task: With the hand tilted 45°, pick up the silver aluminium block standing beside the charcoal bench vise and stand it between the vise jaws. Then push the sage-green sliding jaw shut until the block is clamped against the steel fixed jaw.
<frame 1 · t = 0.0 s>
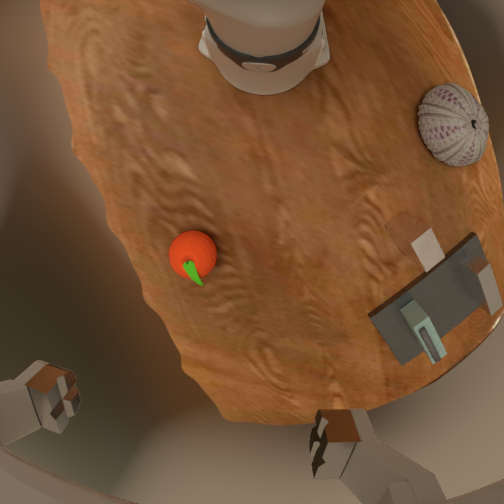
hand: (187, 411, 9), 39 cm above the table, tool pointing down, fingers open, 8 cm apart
block: (400, 231, 46), on the table
sliding jaw: (425, 334, 46), point 5 cm above the table, slide at 0.0 cm
clementine: (199, 250, 49), on the table
vise: (437, 300, 49), on the table
sea urchin shell: (446, 125, 40), on the table
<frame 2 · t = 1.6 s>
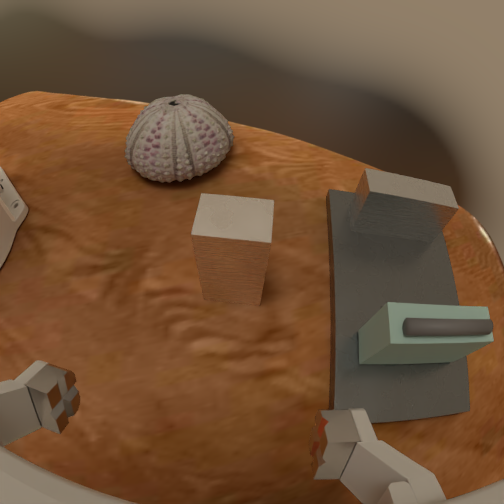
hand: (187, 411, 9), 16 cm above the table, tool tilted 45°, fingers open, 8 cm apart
block: (234, 285, 29), on the table
sliding jaw: (430, 334, 21), point 5 cm above the table, slide at 0.0 cm
vise: (396, 299, 29), on the table
sea urchin shell: (180, 155, 39), on the table
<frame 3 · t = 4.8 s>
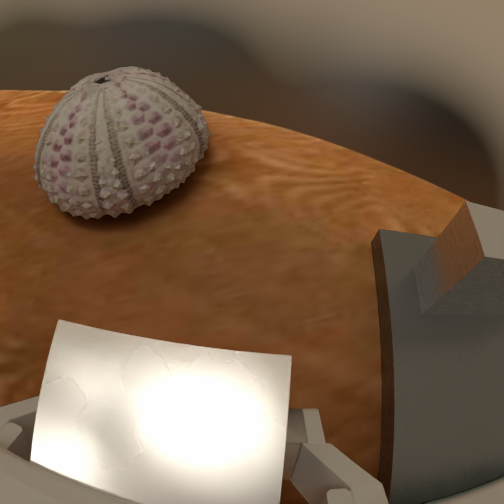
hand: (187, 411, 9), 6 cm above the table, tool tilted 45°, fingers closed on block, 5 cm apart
block: (203, 430, 13), on the table, touching gripper
vise: (478, 421, 13), on the table
sea urchin shell: (127, 167, 23), on the table
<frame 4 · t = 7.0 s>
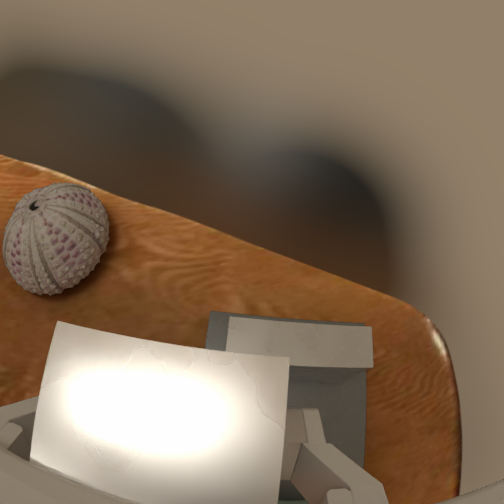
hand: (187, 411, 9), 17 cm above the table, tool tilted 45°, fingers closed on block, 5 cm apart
block: (202, 431, 13), point 12 cm above the table, touching gripper
vise: (279, 454, 22), on the table
sea urchin shell: (64, 250, 32), on the table
when the fingers open (9 cm above the table, at t = 9.3 s): block drops 1 cm, resting on vise.
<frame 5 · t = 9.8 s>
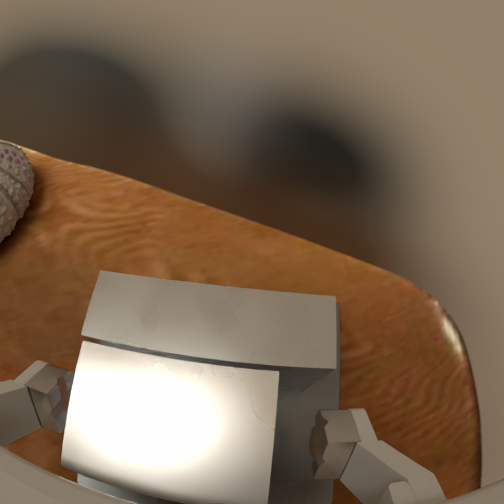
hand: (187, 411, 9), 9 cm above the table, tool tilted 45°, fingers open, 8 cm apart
block: (205, 431, 15), point 1 cm above the table, touching vise
vise: (202, 489, 14), on the table
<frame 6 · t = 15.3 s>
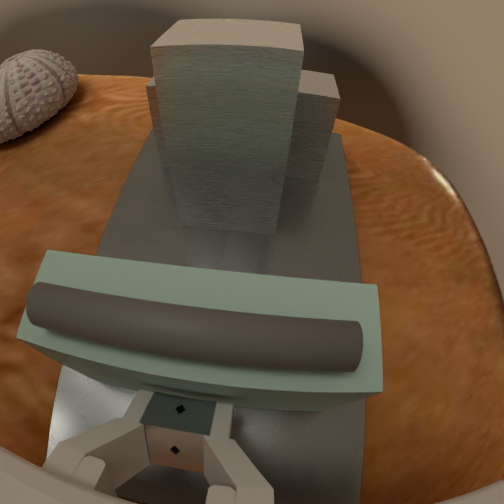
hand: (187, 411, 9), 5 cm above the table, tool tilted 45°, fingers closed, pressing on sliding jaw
block: (231, 205, 18), point 1 cm above the table, touching vise
sliding jaw: (197, 346, 10), point 5 cm above the table, slide at 0.1 cm, touching gripper
vise: (224, 276, 17), on the table
sea urchin shell: (33, 116, 27), on the table
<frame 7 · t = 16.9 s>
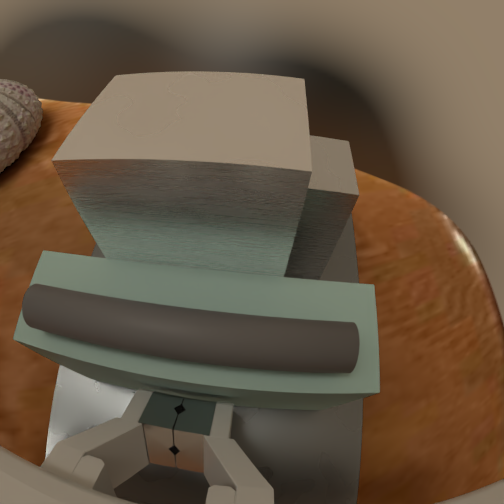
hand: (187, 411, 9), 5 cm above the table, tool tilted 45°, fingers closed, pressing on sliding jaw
block: (213, 299, 15), point 2 cm above the table, touching sliding jaw, vise
sliding jaw: (193, 345, 10), point 5 cm above the table, slide at 7.0 cm, touching block, gripper
vise: (204, 404, 13), on the table
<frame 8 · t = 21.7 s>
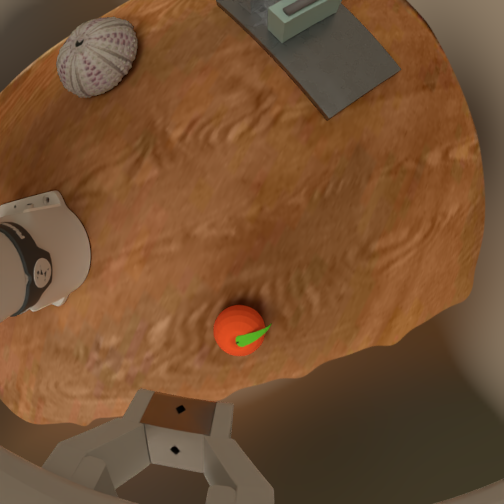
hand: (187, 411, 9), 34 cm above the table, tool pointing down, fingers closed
block: (287, 5, 34), point 1 cm above the table, touching sliding jaw, vise
sliding jaw: (306, 7, 30), point 5 cm above the table, slide at 7.0 cm, touching block
clementine: (244, 318, 45), on the table
vise: (308, 31, 36), on the table
sea urchin shell: (104, 60, 38), on the table
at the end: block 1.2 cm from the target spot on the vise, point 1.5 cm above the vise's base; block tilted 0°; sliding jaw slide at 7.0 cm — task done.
